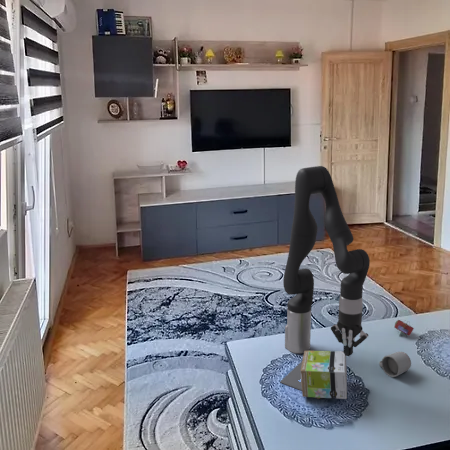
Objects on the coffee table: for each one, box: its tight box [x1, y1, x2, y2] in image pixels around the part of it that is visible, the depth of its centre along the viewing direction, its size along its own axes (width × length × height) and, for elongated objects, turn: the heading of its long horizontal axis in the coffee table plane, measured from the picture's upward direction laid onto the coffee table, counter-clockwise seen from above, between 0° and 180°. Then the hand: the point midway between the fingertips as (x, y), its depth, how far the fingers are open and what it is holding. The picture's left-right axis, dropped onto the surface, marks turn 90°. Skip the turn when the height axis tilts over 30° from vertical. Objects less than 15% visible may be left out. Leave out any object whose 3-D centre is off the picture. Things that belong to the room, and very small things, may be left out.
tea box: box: [301, 350, 348, 400], centre depth 168 cm, size 15×10×15 cm
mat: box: [279, 359, 303, 392], centre depth 178 cm, size 14×20×1 cm
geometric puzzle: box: [393, 319, 415, 337], centre depth 204 cm, size 7×7×8 cm
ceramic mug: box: [378, 351, 412, 378], centre depth 179 cm, size 11×8×8 cm
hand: (348, 355), depth 166 cm, fingers closed
